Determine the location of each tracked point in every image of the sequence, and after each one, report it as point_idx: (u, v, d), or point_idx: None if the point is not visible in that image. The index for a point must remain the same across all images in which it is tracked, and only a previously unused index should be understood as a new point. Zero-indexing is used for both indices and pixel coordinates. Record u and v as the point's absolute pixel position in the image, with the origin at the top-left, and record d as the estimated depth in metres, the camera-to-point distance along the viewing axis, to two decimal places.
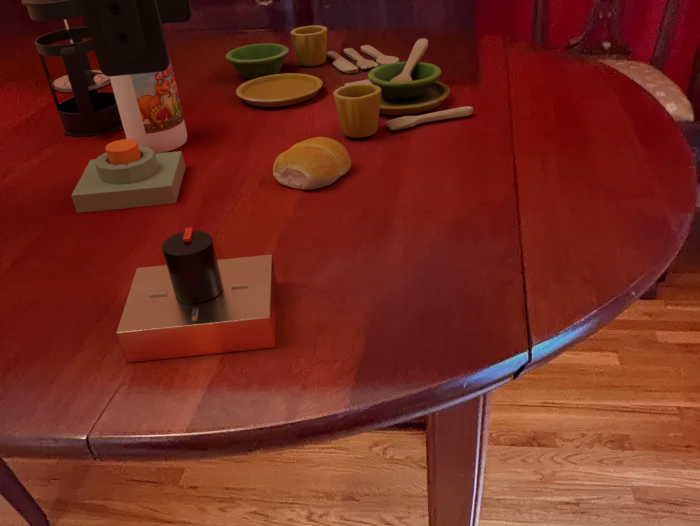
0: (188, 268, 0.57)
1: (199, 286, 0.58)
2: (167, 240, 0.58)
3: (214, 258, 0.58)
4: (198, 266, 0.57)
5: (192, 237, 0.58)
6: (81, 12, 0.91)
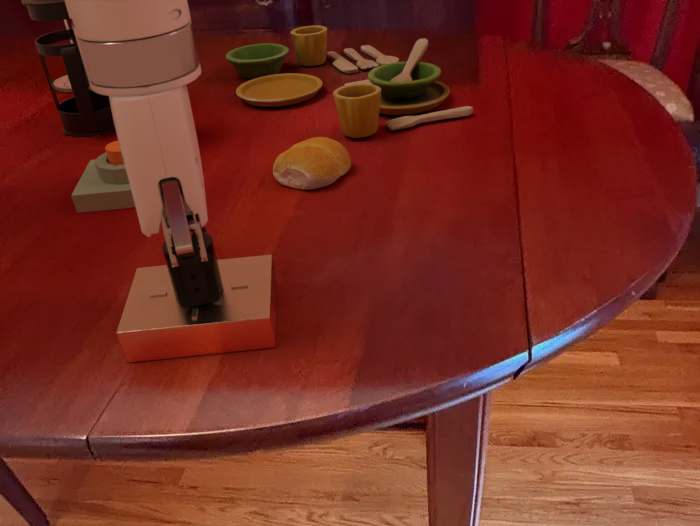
0: None
1: None
2: None
3: (214, 258, 0.58)
4: None
5: (192, 237, 0.58)
6: None
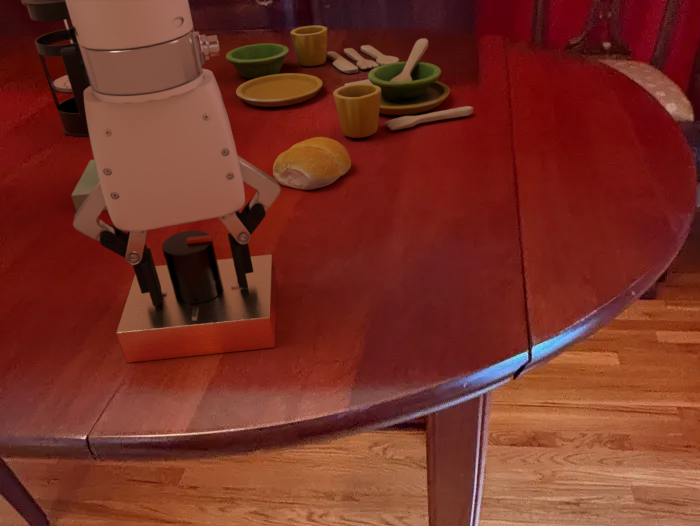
0: None
1: None
2: (197, 231, 0.59)
3: (182, 270, 0.57)
4: (166, 263, 0.57)
5: (196, 243, 0.57)
6: None
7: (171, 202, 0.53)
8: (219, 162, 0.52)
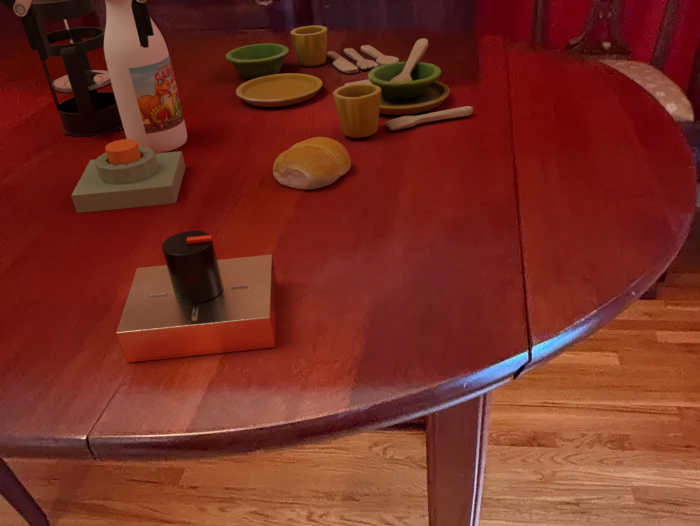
0: None
1: None
2: (197, 231, 0.59)
3: (182, 270, 0.57)
4: (166, 263, 0.57)
5: (196, 243, 0.57)
6: (81, 12, 0.91)
7: None
8: None
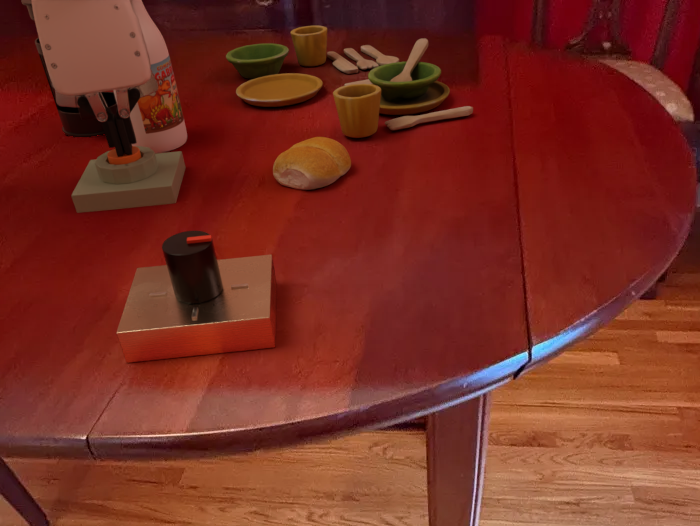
0: None
1: None
2: (197, 231, 0.59)
3: (182, 270, 0.57)
4: (166, 263, 0.57)
5: (196, 243, 0.57)
6: None
7: (95, 72, 0.74)
8: (128, 42, 0.73)
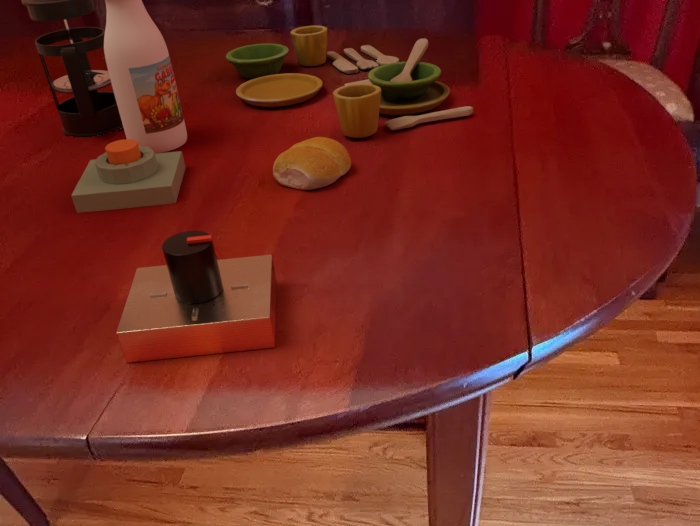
0: None
1: None
2: (197, 231, 0.59)
3: (182, 270, 0.57)
4: (166, 263, 0.57)
5: (196, 243, 0.57)
6: (81, 12, 0.91)
7: None
8: None
